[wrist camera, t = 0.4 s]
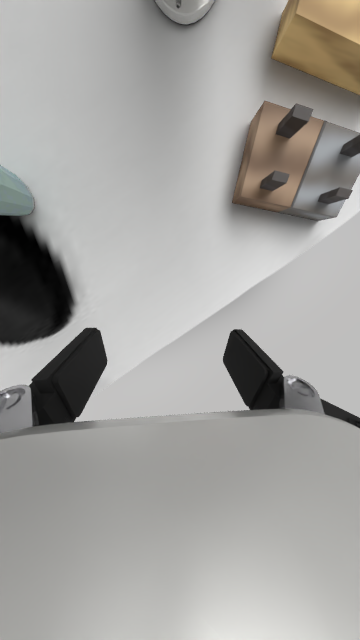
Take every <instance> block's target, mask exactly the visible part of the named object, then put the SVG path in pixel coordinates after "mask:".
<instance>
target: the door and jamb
mask: <svg viewBox="0 0 360 640" xmlns="http://www.w3.org/2000/svg"><path fill="white" fill-rule="evenodd" d="M312 111H313V109H311V108H308V107H305V106H302V105H299V104H295V106H294V107H293V108H292V109H288V108H285V107H282V106H279V105H276V104H273V103H270V102H267V101H264V103H263V104H262V106H261V107H260V109H259V110H258V112H257V113H256V115H255V117H254V118H253V120H252V121H251V124H250V128H249V132H248V136H247V141H246V145H245V149H244V154H243V158H242V162H241V166H240V171H239V175H238V179H237V184H236V188H235V192H234V196H233V201H232V203H235V204H240V205H245V206H250V207H255V208H259V209H264V210H269V211H274V212H279V213H283V214H288V215H293V216H298V217H303V218H308V219H312V220H317V221H320V220H325V219H330V218H334V217H337V215H338V213H339V211H340V209H341V208H342V206H343V204H344V202H345V200H346V199H348V198H349V196H350V194H351V193H352V191H353V190H351V189H352V187H353V185H354V183H355V181H356V179H357V177H358V175H359V174H360V133H358V132H355V131H352V130H350V129H347V128H344V127H341V126H338V125H335V124H332V123H329V122H327V121H323V120H320V119H317V118H314V117H311V114H312Z"/></svg>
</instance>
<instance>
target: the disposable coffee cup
mask: <svg viewBox="0 0 360 640" xmlns="http://www.w3.org/2000/svg"><path fill="white" fill-rule="evenodd" d="M34 208H35V207H34V198H33V196H32V194H31V192H30V190H29V188H28V187H27V186H26V185H25V184H24V183H23V182H22V181H21V180H20V179H19V178H18V177H17V176H16V175H15V174H13V173H12V172H10V171H9V170H7V169H5V168H4V167H2V166H1V165H0V215H12V216H22V215H29V214H31V212H32V211H33V209H34Z"/></svg>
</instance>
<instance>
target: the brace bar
mask: <svg viewBox="0 0 360 640" xmlns="http://www.w3.org/2000/svg"><path fill="white" fill-rule="evenodd" d="M271 58H272V59H274V60H277V61H279V62H281V63H284V64H286V65H289V66H291V67H293V68H296V69H298V70H301V71H303V72H305V73H308V74H310V75H313V76H315V77H317V78H320V79H322V80H324V81H327V82H329V83H332V84H334V85H336V86H339V87H341V88H344V89H346V90H348V91H351V92H353V93H356V94H358V95H360V0H289V1H288V3H287V5H286V7H285V9H284V11H283V13H282V17H281V21H280V25H279V29H278V33H277V37H276V41H275V45H274V49H273V53H272V57H271Z"/></svg>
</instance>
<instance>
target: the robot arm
mask: <svg viewBox="0 0 360 640" xmlns="http://www.w3.org/2000/svg"><path fill="white" fill-rule="evenodd" d="M214 1H215V0H155V2H156V3H157V5H158V6H159V7H160V9H161V10H162V11H163V13H164V14H166V15H167V16H168V17H169V18H170V19H171V20H173V21H175V22H177V23H180V24H190V23H194V22H196V21H198V20H199V19H201V18H202V17H203V16H204V15H205V14H206V13H207V12H208V11H209V9H210V8H211V6H212V4H213V3H214ZM223 362H224V365H225V366H226V368H227V370H228V372H229V374H230V376H231V378H232V380H233V382H234V384H235V386H236V388H237V389H238V391H239V393H240V395H241V397H242V399H243V401H244V403H245V404H246V405H247V406H248V407H249V409H250V410H244V411H228V412H212V413H197V414H183V415H168V416H167V415H166V416H152V417H138V418H124V419H111V420H97V421H84V422H74V421H75V419H76V417H79V416H80V414H81V413H82V411H83V409H84V407H85V405H86V403H87V401H88V399H89V398H90V396H91V394H92V392H93V390H94V388H95V386H96V384H97V382H98V380H99V378H100V377H101V375H102V373H103V371H104V369H105V367H106V365H107V357H106V353H105V349H104V345H103V341H102V336H101V332H100V330H97V328H85V329H84V330H83V331H82V332H81V333H80V334H79V335H78V336H77V337H76V338H75V339H74V340H73V341H71V342H70V343H69V344H68V345H67V346H66V347H65V348H64V349H63V350H62V351H61V352H60V353H59V354H58V355H57V356H56V357H55V358H54V359H53V360H51V361H50V362H49V363H48V364H47V365H46V366H45V367H44V368H43V369H42V370H41V371H40V372H39V373H38V374H37V375H36V376H35V377H34V378H33V379H32V383H31V384H30V385H29V386H27V385H17V386H12V387H9V388H6V389H4V390H2V391H0V640H360V418H359V417H357V416H355V415H353V414H351V413H349V412H347V411H344V410H343V409H340V408H339V407H336V406H334V405H332V404H330V403H328V402H326V401H324V400H322V399H320V397H319V394H318V392H317V391H316V389H315V388H314V387H313V386H312V385H310V384H309V383H308V382H306V381H305V380H303V379H301V378H299V377H296V376H291V375H289V376H285V377H283V376H282V373H283V371H282V370H281V369H280V368H279V367H278V366H277V365H276V364H275V363H274V362H273V361H272V360H271V358H270V357H269V356H268V355H267V354H266V353H265V352H264V351H263V350H262V349H261V348H260V347H259V346H258V345H257V344H256V343H255V342H254V341H253V340H252V339H251V338H250V337H249V336H248V335H247V334H246V333H245V332H244V331H243V330H237V329H235V330H233V331H231V333H230V336H229V339H228V343H227V346H226V349H225V353H224V356H223Z"/></svg>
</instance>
